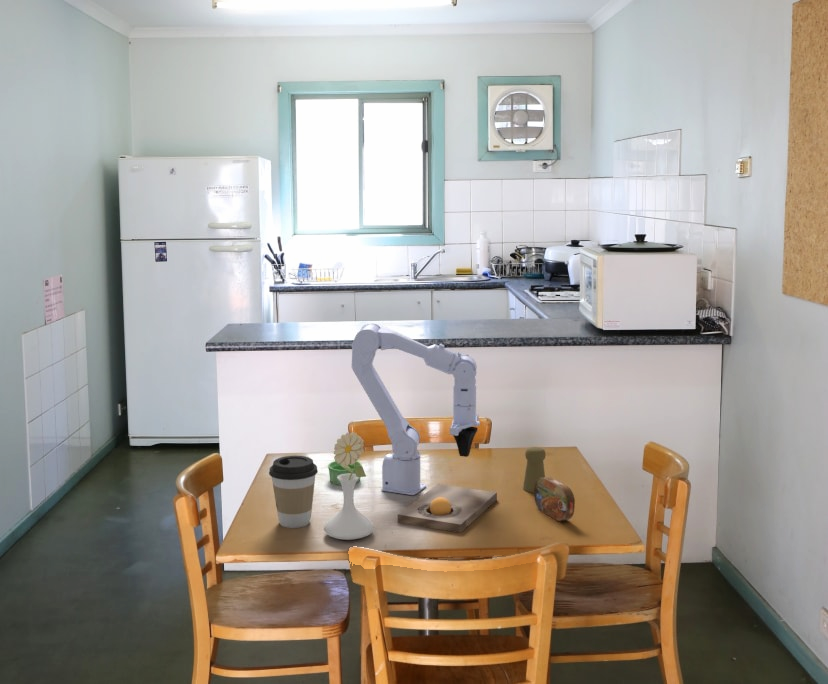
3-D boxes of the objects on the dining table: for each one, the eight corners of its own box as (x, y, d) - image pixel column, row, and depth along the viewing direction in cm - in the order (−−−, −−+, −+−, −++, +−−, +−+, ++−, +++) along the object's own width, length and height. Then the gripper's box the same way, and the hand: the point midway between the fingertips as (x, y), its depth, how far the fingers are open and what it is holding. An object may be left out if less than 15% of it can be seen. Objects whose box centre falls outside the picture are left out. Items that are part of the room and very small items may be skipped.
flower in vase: (316, 531, 228) (313, 426, 224) (360, 522, 234) (359, 419, 229) (340, 550, 217) (338, 440, 213) (386, 540, 223) (385, 433, 218)
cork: (545, 493, 253) (546, 451, 251) (521, 491, 255) (522, 450, 253) (547, 485, 259) (548, 445, 257) (524, 484, 260) (524, 443, 258)
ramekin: (365, 476, 268) (365, 460, 267) (357, 487, 259) (357, 470, 258) (333, 474, 269) (332, 458, 269) (324, 485, 261) (324, 469, 260)
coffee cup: (274, 513, 240) (273, 453, 237) (321, 514, 239) (320, 454, 237) (266, 531, 229) (264, 468, 226) (315, 531, 228) (314, 469, 225)
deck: (397, 522, 234) (397, 514, 234) (438, 491, 255) (438, 483, 255) (460, 532, 227) (460, 524, 227) (496, 499, 249) (496, 492, 248)
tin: (532, 505, 245) (533, 473, 243) (543, 504, 246) (544, 471, 244) (565, 526, 231) (565, 491, 230) (576, 524, 232) (577, 490, 231)
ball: (429, 493, 237) (435, 507, 240) (426, 510, 234) (432, 523, 237) (449, 492, 236) (454, 505, 239) (446, 508, 232) (452, 522, 235)
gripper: (468, 412, 243) (468, 465, 246) (489, 399, 256) (489, 449, 258) (442, 409, 246) (442, 462, 248) (464, 396, 259) (463, 446, 261)
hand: (464, 455), depth 254 cm, fingers closed
